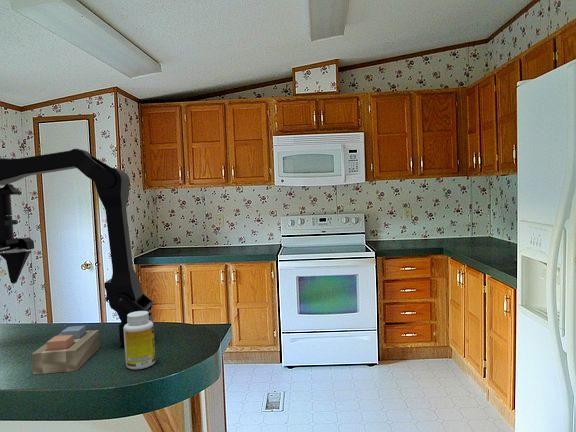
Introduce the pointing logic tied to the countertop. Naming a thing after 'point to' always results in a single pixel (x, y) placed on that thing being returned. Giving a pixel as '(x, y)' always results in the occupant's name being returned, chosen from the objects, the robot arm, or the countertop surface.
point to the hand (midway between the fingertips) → (2, 287)
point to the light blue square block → (75, 331)
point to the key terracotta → (60, 342)
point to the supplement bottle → (139, 340)
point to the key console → (66, 355)
